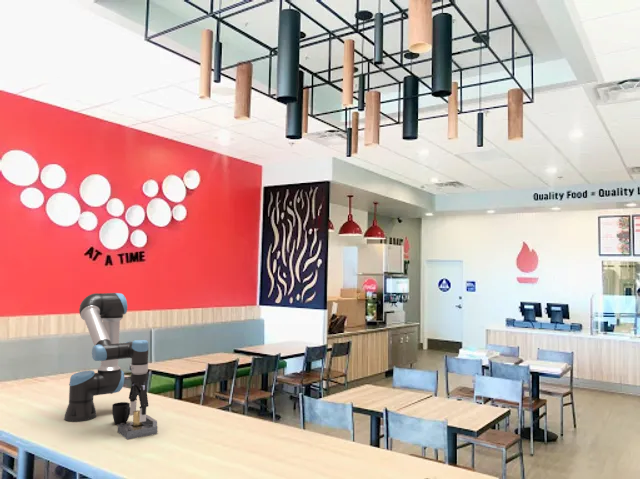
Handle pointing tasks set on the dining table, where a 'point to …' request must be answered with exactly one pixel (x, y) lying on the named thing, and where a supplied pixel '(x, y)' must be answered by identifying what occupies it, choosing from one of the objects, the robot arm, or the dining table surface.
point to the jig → (138, 428)
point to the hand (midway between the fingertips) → (137, 418)
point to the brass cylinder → (136, 419)
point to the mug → (120, 412)
